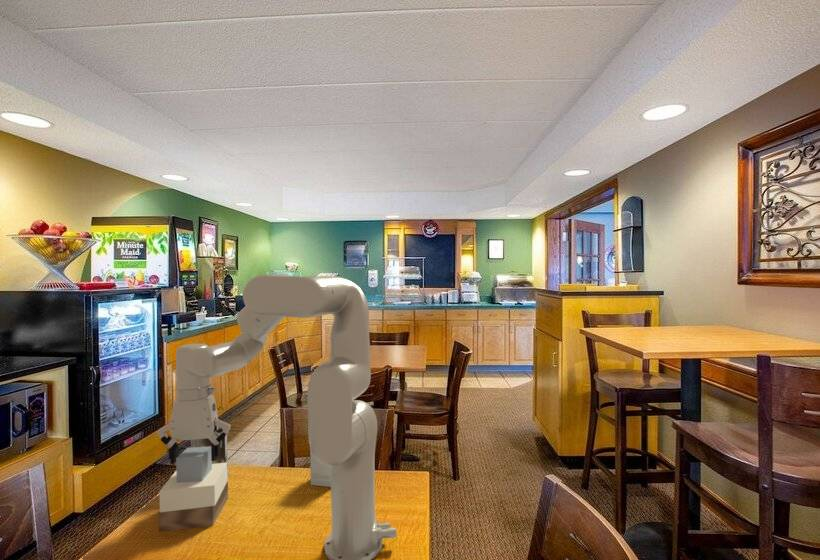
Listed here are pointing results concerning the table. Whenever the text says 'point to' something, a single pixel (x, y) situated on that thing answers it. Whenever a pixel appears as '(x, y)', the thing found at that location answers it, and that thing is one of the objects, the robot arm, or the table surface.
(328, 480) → the supplement box
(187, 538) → the table surface
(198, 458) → the stack block
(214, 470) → the tower top block
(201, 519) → the tower base block
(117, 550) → the table surface
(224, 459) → the coffee box
